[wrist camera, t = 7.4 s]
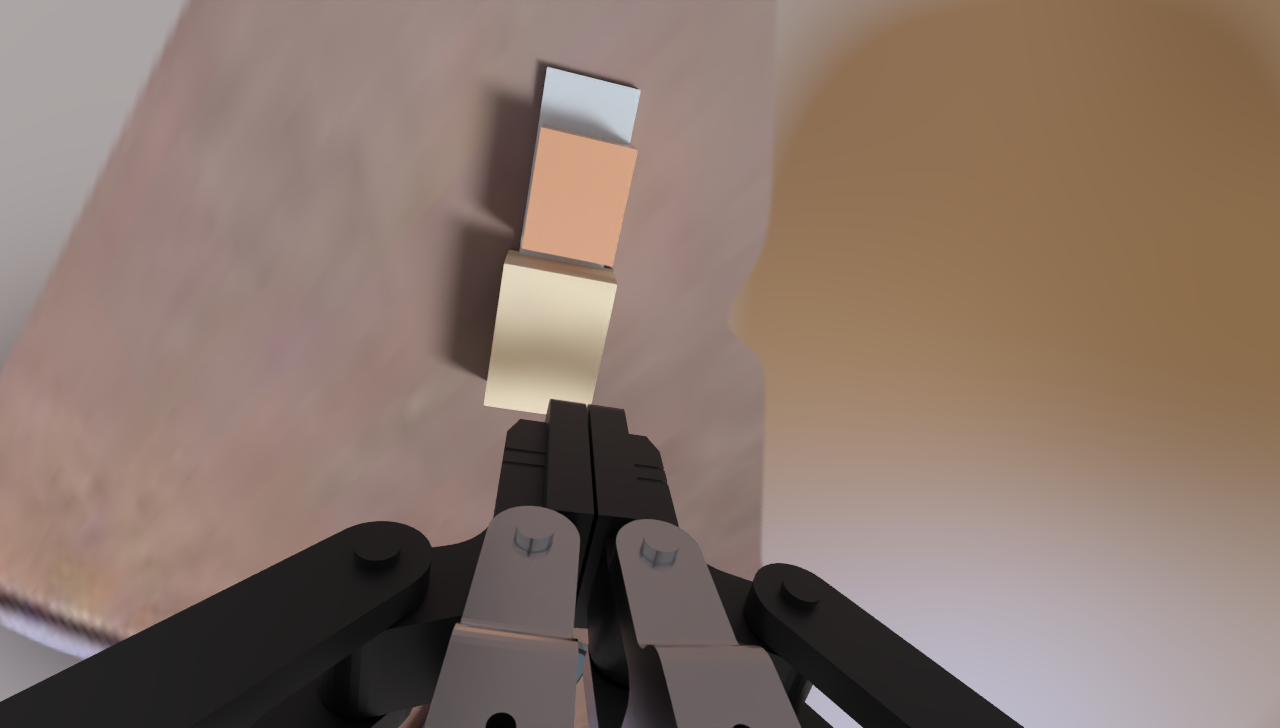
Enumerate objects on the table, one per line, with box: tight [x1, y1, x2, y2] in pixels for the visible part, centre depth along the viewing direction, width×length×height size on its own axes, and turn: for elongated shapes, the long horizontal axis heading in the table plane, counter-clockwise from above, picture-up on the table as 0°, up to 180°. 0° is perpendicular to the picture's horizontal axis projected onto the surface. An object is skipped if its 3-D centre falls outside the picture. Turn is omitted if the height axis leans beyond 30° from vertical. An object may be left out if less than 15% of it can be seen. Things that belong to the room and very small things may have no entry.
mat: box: [519, 67, 641, 270], centre depth 28 cm, size 8×4×1 cm, turn 167°
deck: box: [484, 250, 617, 414], centre depth 30 cm, size 7×5×2 cm
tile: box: [522, 124, 638, 266], centre depth 27 cm, size 5×4×2 cm
